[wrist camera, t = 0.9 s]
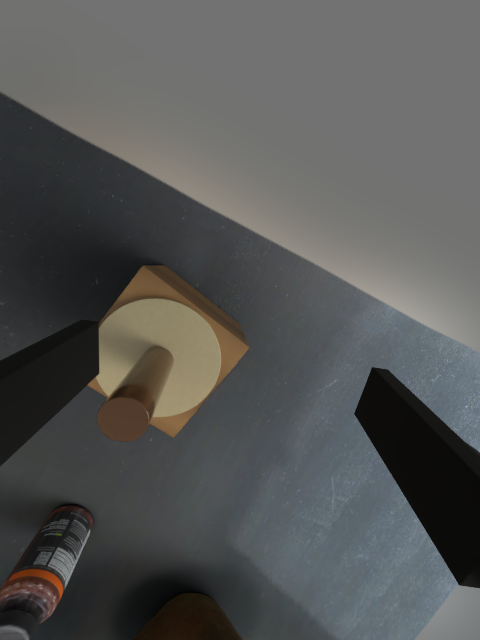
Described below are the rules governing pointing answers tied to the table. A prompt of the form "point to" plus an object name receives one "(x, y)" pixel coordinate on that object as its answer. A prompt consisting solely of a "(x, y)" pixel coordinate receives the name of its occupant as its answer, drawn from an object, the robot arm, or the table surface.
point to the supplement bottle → (43, 572)
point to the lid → (153, 364)
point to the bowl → (189, 621)
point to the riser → (175, 288)
